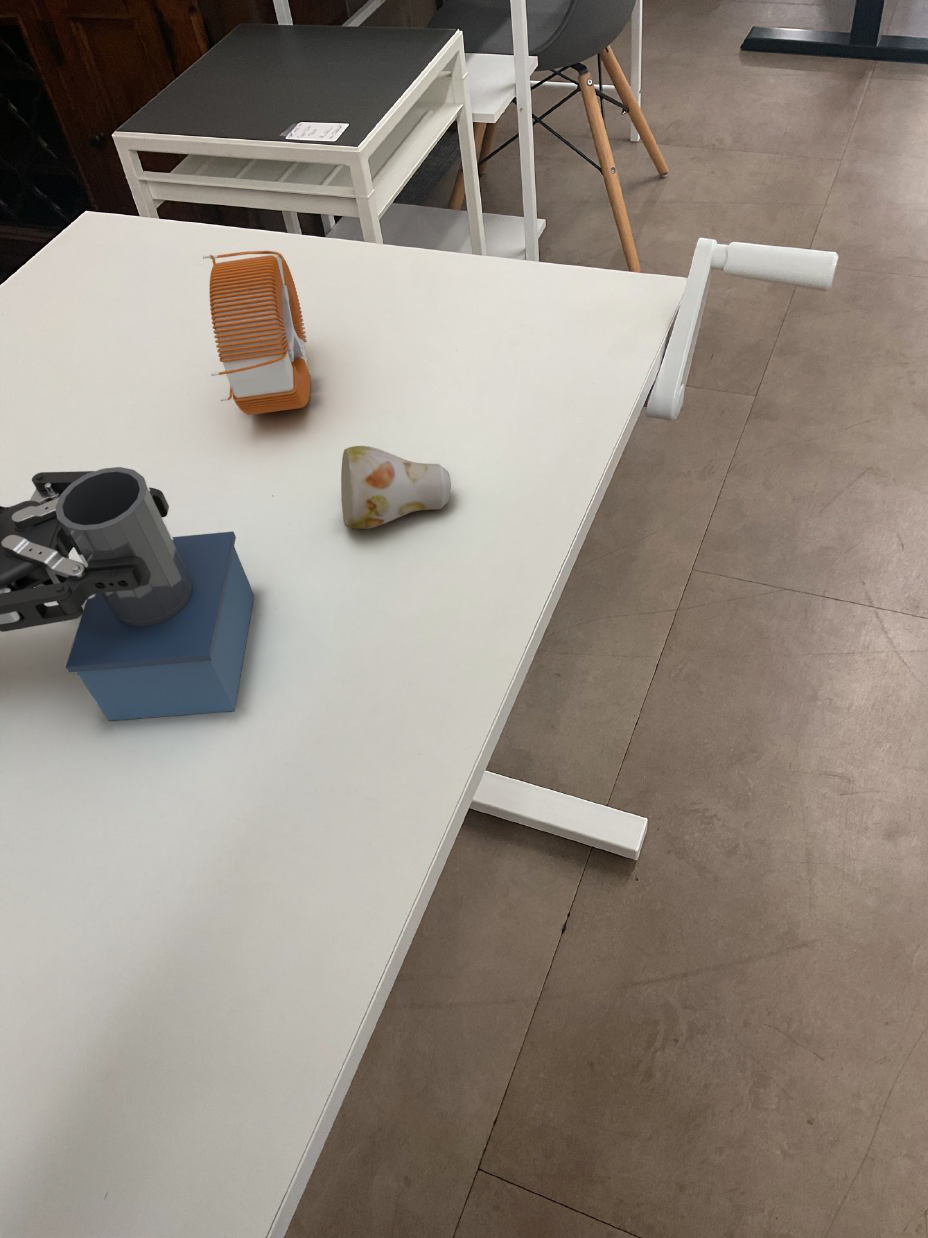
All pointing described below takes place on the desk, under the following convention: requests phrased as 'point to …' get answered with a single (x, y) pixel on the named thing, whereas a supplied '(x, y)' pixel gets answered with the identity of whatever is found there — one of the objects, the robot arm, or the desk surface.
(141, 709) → the container
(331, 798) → the desk surface
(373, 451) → the patterned salt shaker
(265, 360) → the coil
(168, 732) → the desk surface
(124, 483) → the cup
